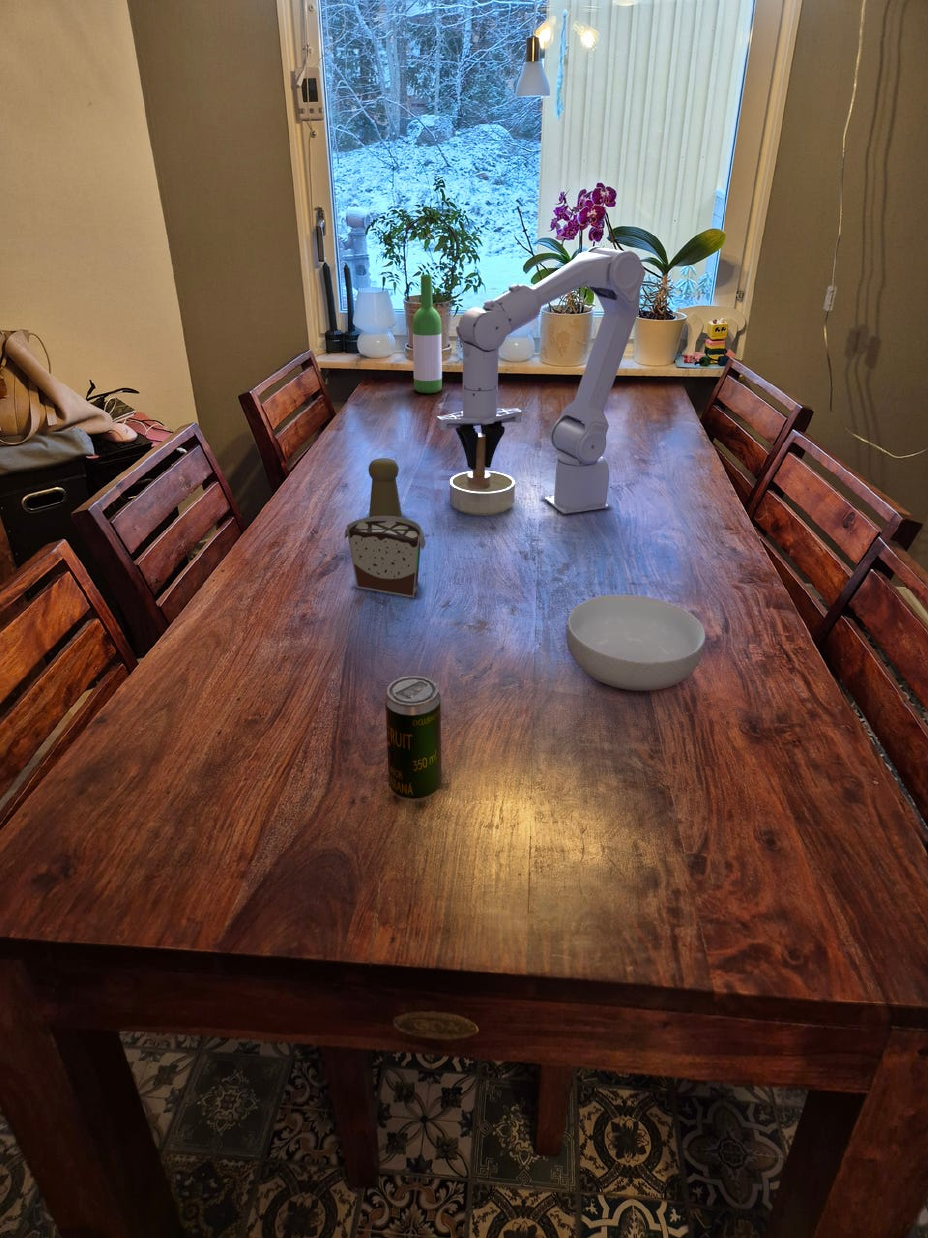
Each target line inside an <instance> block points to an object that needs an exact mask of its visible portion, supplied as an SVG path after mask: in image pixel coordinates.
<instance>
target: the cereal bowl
mask: <svg viewBox="0 0 928 1238" xmlns="http://www.w3.org/2000/svg"><path fill="white" fill-rule="evenodd" d="M706 639H707V638H706V631H705V628H704V625H703V624H702V622H701V621H700V620H699V619H698V618H697V617H696V616H695V615H694V614H692V613H690V612H689V611H687V610H686V609H684V608H683V607H681V606H678V605H676V604H674V603H671V602H669V601H666V600H662V599H659V598H653V597H650V596H645V595H639V594H638V595H637V594H619V593H618V594H606V595H605V594H604V595H599V596H596V597H595V596H594V597H592V598H590V599H587V600H584V601H583V602H581V603H579V604H577V605H576V606H575V607H573V609H572V610H571V611H570V613H569V614H568V618H567V623H566V642H567V648H568V652H569V653H570V655H571V657H572V659H573V660H574V662H575V663H576V665H577V666H578V667H579V668H580V669H581V670H582V671H583V672H584V673H586V674H587V675H588V676H590V677H591V678H593V679H595V680H596V681H598V682H601V683H602V684H605V685H608V686H611V687H613V688H616V689H617V688H618V689H622V690H626V691H633V692H634V691H638V692H646V691H657V690H659V691H660V690H663V689H664V690H665V689H666V688H671V687H673V686H675V685H676V684H679V683H681V682H682V681H684V680H686V678H689V676H690V675H692V674H693V672H694V671H695V670H696V669H697V667H698V665H699V664H700V661H701V659H702V656H703V653H704V650H705V645H706Z"/></svg>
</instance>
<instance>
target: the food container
mask: <svg viewBox="0 0 928 1238" xmlns="http://www.w3.org/2000/svg"><path fill="white" fill-rule="evenodd" d="M346 538H348V545H349V552H350V557H351V562H352V569H353V575H354V581H355V586H356V589H362V590H367V591H374V592H378V593H383V594H384V593H385V594H389V595H390V594H391V595H396V596H402V597H408V598H413V599H414V598H415V597H416V596H417V593H418V582H419V572H420V571H419V569H420V560H421V559H420V558H421V551H423V550H424V549H425V547H426V538H425V534H424V531H423V529H422V527H421V526H420V525H419V523H418V522H416V521H414V520H412V519H410V518H405V517H403V516H402V517H396V516H373V517H369V516H367V517H363V518H359V519H356V520H353V521H352V522H349V523H347V524H346V528H345V530H344V539H346Z"/></svg>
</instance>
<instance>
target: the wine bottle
mask: <svg viewBox="0 0 928 1238" xmlns="http://www.w3.org/2000/svg"><path fill="white" fill-rule="evenodd" d="M442 348H443V347H442V319H441V316H440V314H439V311H437V310H436V309H435V308H434V307H433V275H432V274H429V273H427V274H426V273H425V274H421V275H420V308H418V310H416V311H415V314H414V315H413V318H412V357H413V358H412V361H413V362H412V364H413V388H414V390H415V392H416V393H417V392H418V393H420V394H435V393H439V392H440V391H441V390H442V385H443V369H442V368H443V367H442V365H443V363H442V362H443V361H442V359H443V358H442V357H443V355H442V353H443V352H442Z"/></svg>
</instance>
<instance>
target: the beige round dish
mask: <svg viewBox="0 0 928 1238" xmlns="http://www.w3.org/2000/svg"><path fill="white" fill-rule="evenodd" d="M470 472H473V470H471V471H470V470H469V471H463V472H461V473H457V474H455V475H453V476H452V477H451V478H450V479H449V504H450V505H451V506H452V507H453V508H454V509H455V510H457V511H459V512H462V513H463V514H468V515H473V516H494V515H498V514H503V513H504V512H507V511H508V510H509V509H510V508H512V507H513V506H514V505H515V495H516V480H515V479H514V478H513V477H512V476H510V475H508V474H505V473H502V472H498V471H490V470H485V472H488V473H489V474H490V487H489V488H487V489H482V490H476V489H471V488H469V487H468V486H467V474H468V473H470Z"/></svg>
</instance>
